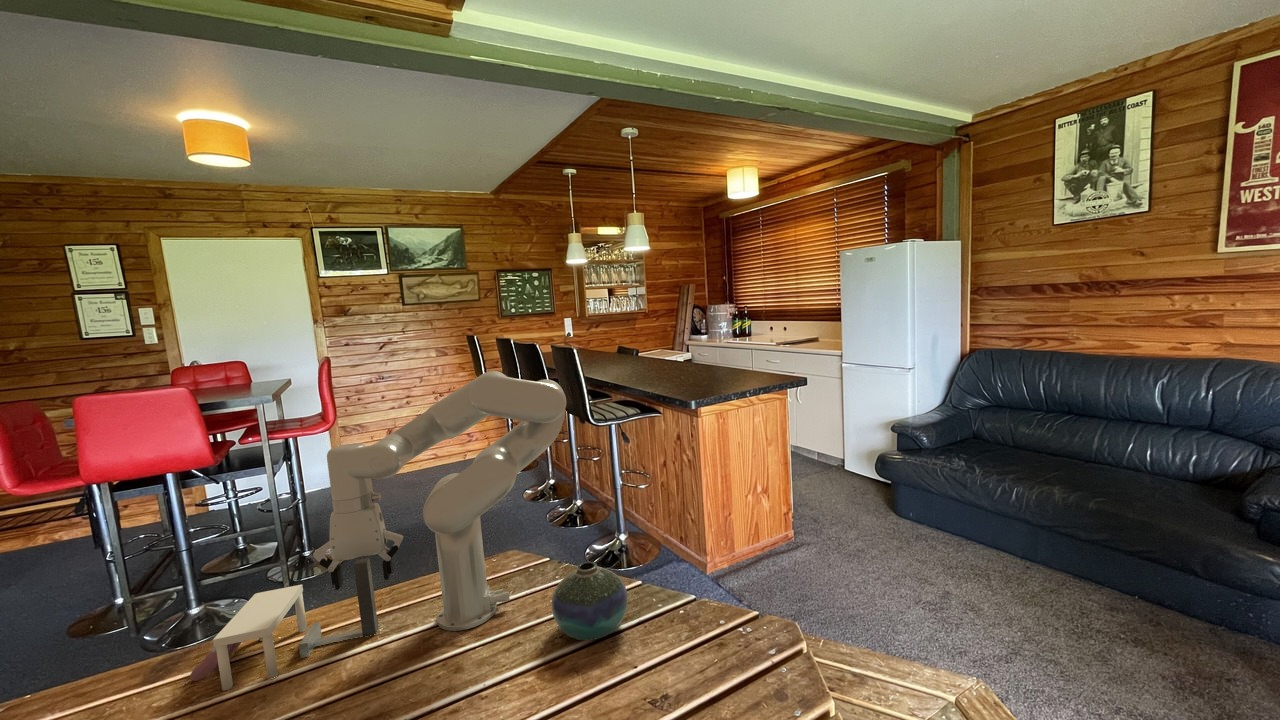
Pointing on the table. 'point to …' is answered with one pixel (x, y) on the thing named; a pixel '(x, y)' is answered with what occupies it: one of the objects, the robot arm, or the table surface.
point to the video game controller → (211, 662)
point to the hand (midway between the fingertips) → (363, 581)
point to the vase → (589, 602)
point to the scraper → (365, 607)
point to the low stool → (259, 627)
